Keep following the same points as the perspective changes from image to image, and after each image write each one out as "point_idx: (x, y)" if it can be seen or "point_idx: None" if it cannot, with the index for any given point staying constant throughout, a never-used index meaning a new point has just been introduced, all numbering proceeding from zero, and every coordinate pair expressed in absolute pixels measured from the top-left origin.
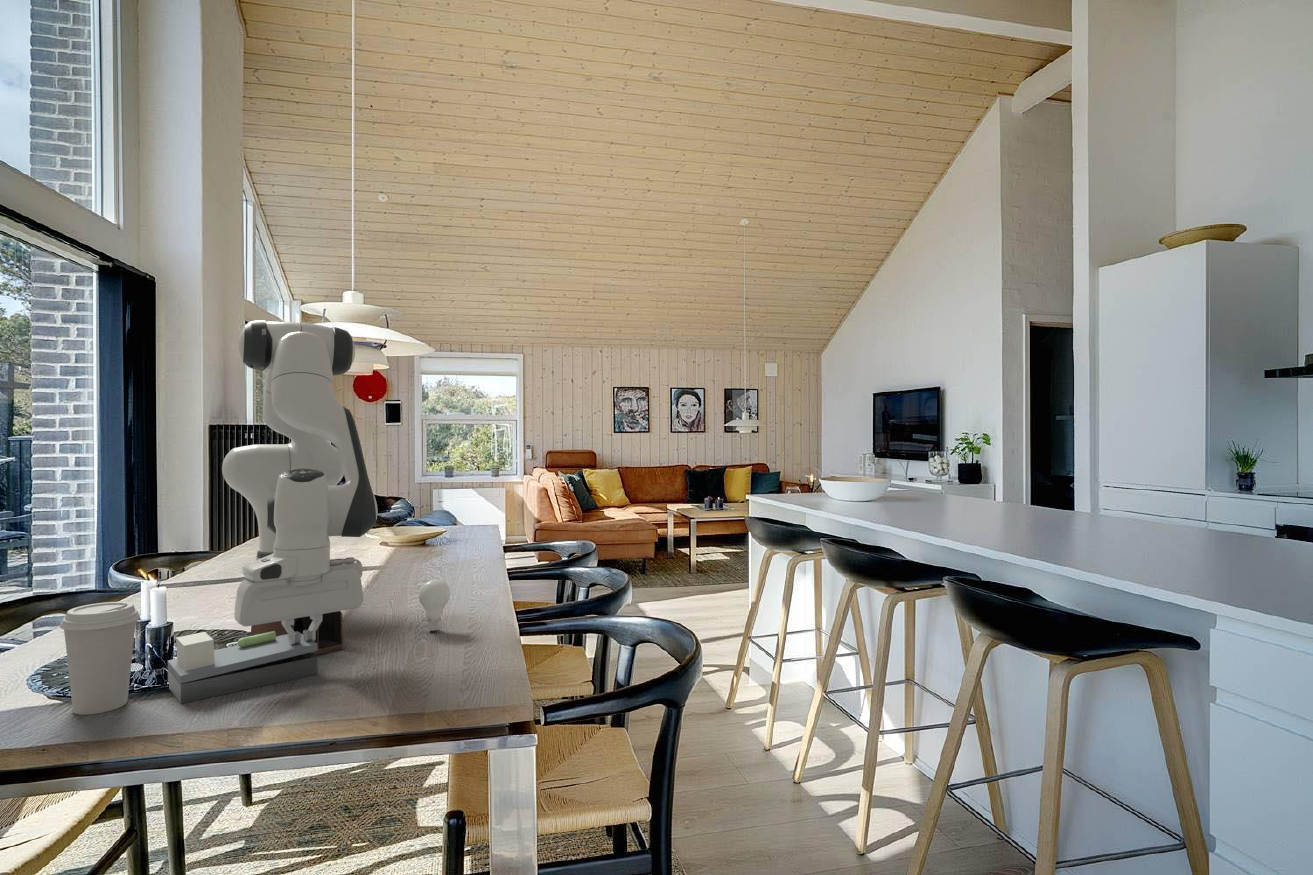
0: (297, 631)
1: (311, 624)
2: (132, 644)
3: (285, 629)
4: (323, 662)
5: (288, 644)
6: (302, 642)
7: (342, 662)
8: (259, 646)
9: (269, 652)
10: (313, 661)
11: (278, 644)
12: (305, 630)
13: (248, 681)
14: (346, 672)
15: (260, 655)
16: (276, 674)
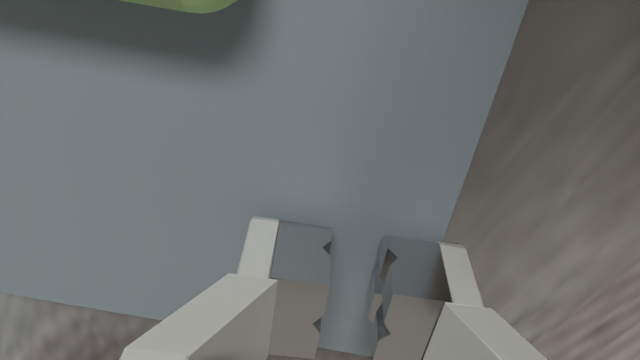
0: (327, 290)
1: (480, 358)
2: None
3: (192, 304)
4: (551, 52)
5: (251, 208)
6: (349, 260)
7: (606, 147)
8: (25, 29)
9: (74, 260)
10: None
11: (187, 135)
12: (402, 310)
13: None
14: (485, 293)
15: (7, 266)
16: None
